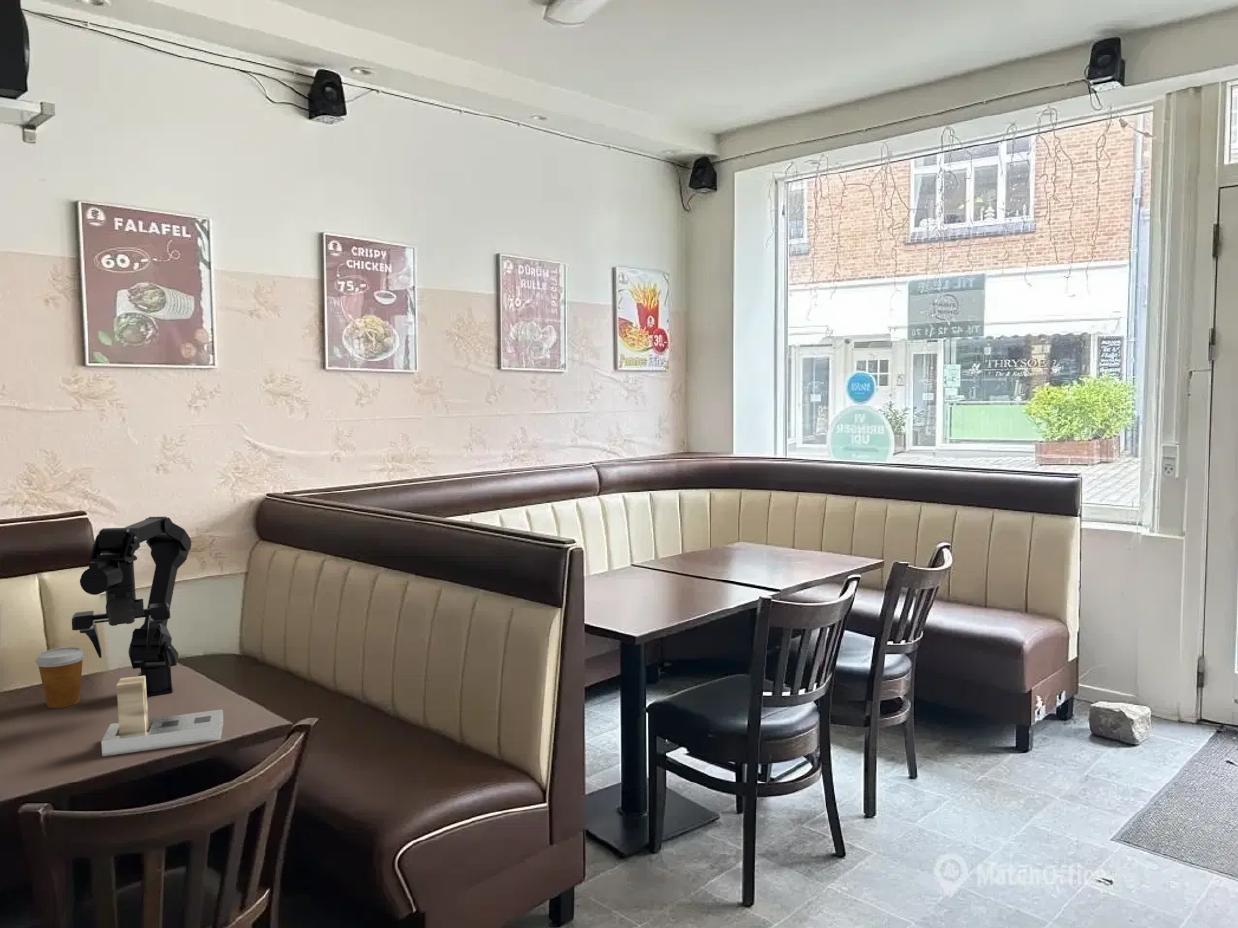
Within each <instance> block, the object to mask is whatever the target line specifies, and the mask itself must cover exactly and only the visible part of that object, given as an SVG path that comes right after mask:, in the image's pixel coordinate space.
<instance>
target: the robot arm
mask: <svg viewBox="0 0 1238 928" xmlns="http://www.w3.org/2000/svg"><path fill="white" fill-rule="evenodd" d="M143 542H145V543H146V544H147V546H148V547H149V548H150V556H151V558H152V560H153V562H154V564H155V567H154V573H153V576H152V577H153V578H152V582H151V586H150V592H149V597H148V600H147V601H148V603H147V606H146V607H147V608H144V598H137V597H136V579H135V577H136V576H135V565H134V562H135V561H137V560H138V557H137V556H136V555H135V552H136V551H137V550H139V548H140V547H141V546H140V545H141V543H143ZM191 547H192V539H191V537H190V536H189V534H188V533H187V531H186V529H184V528H183V527H181V526H179V525H177V524H176V523H174V522H173V521H172V519H171V518H170V517H167V516H149V517H146V518H145V519H143V520H141V521H138V522H136V523H132V524H129V525H127V526H125V527H107V528H106V527H105V528H102V529H100V530H99V532H98V534H97V535H96V537H95V540H94V544H93V546H92V549H91V553H90V555H89V559H88V568H87V569H86V570H84V571H83V573H82V574H81V576H80V579H79V585H80V587H81V590H83V592H85V593H87V594H88V595H90V596H91V595H93V596H96V595H97V596H98V595H100V594H102V593H105V603H106V604H105V613H98V614H95V613H94V610H88V611H87V610H86V611H80V612H79V611H78V612H77V611H76V612H74V614H73V615H72V617H71V631H79V634H85V635H86V636H87V637H88V639H89V640H90V641H91V643H92V645H93V648H94V649H95V651H96V654H97V656H98V658H99V659H101V658H102V657H103V655H102V647H101V641H100V636H99V631H98V627H97V624H100V623H108V625H109V626H112V627H115V626H118V625H123V624H124V625H125V624H126V625H131V624H133V623H134V622H135V619H142V618H144V622H143V624H141V626H140V627H139V628H134V630H133V631H132V636H131V641H130V644H129V647H128V657H129V659H130V660H129V661H130V663H131V667H132V669H133V670H136V669H140V672H138V673H137V677H138V676H146V692H147V697H150V696H151V697H152V696H155V695H157V696H158V695H163V694H169V693H173V692H174V690H173V689H174V688H173V682H172V667H175V666H177V665H178V663H179V662H178V661H179V652H178V651H177V649H176V648H175V647H174V645H172V639H173V638H172V636H171V633H170V631H169V630H168V627H167V626H168V621H169V620H170V619H171V611H170V610H171V606H172V605H171V604H172V599H173V594H174V589H175V583H176V579H177V574H178V573H177V572H178V569H179V568H180V567H181V566H182V565H183V564H184V563H185V562H186V560H187V559H188V555H189V552H190V550H191V549H192V548H191Z"/></svg>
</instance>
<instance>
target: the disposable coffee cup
mask: <svg viewBox="0 0 1238 928" xmlns="http://www.w3.org/2000/svg"><path fill="white" fill-rule="evenodd" d="M85 654H86V653H85V652H84V651H83V649H82V647H78V646H65V647H64V646H63V647H57V648H53V649H48V650H45V651H42V652H39V653H38V654H37V658H36V659H35V664H36V665H37V666H38V671H39V676H40V679H41V685H42V688H43V693H44V697H45V701H46V705H47V708H51V709H60V708H61V709H62V708H66V707H70V706H74V705H76V704H78V703H80V698H81V688H82V687H81V686H82V675H83V674H82V673H83V661H84V658H85Z"/></svg>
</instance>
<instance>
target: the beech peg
mask: <svg viewBox="0 0 1238 928" xmlns="http://www.w3.org/2000/svg"><path fill="white" fill-rule="evenodd" d="M116 696H117V697H116V698H117V711H118V712H117V715H118V716H117V717H118V723H119V731H120V736H121V735H128V734H135V733H143V732H149V725H148V719H149V712H148V708H149V707H148V696H147V692H146V676H138V675H137V676H131V677H129V676H128V677H121V678H120V679H119V680H118V682H117V684H116Z"/></svg>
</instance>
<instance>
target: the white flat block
mask: <svg viewBox="0 0 1238 928" xmlns="http://www.w3.org/2000/svg"><path fill="white" fill-rule="evenodd" d="M148 725H149V732H143V733H135V734H128V735H121V736H120V731H119V722H116V723H110V724H109V726H108V728H107V729H106V732H105V734H104V736H103V738H102V740H101V741H100V744H101V756H102V757H108V756H114V755H115V756H116V755H122V754H123V755H124V754H129V753H137V752H144V751H150V750H151V751H153V750H157V749H158V750H159V749H165V748H172V747H177V746H179V747H181V746H187V745H193V744H199V743H200V744H201V743H207V742H215V741H221V738H222V733H223V727H224V710H223V709H216V710H207V711H200V712H199V711H198V712H191V713H184V714H177V715H170V716H162V717H154V718H152V717H151V718H148Z"/></svg>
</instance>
